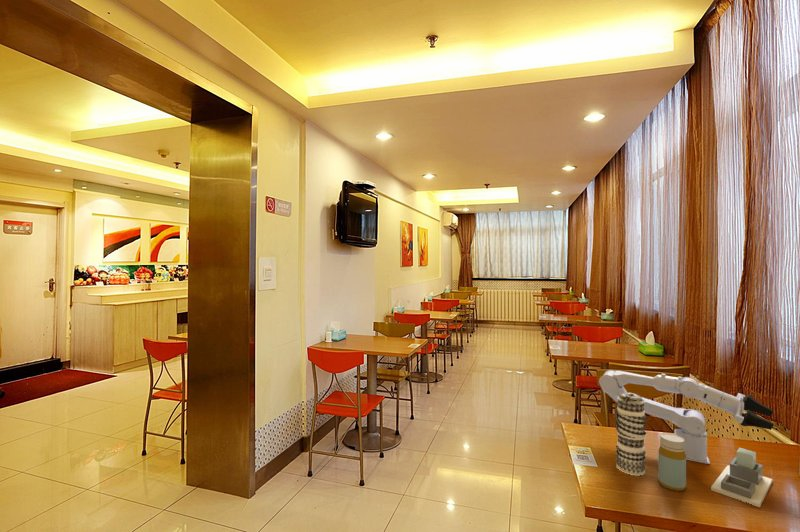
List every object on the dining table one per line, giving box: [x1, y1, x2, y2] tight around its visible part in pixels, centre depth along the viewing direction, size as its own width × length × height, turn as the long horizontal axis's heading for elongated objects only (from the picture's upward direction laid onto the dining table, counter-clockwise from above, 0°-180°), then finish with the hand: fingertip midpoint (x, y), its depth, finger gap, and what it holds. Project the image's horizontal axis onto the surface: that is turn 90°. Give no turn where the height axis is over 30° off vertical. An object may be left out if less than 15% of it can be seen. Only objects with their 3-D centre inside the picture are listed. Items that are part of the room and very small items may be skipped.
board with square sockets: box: [710, 456, 773, 508], centre depth 122 cm, size 20×11×5 cm, turn 129°
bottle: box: [657, 432, 687, 492], centre depth 122 cm, size 7×7×15 cm
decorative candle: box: [614, 391, 648, 477], centre depth 132 cm, size 9×9×25 cm
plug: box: [736, 447, 757, 470], centre depth 125 cm, size 5×4×6 cm
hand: (772, 420), depth 127 cm, fingers open, 7 cm apart
